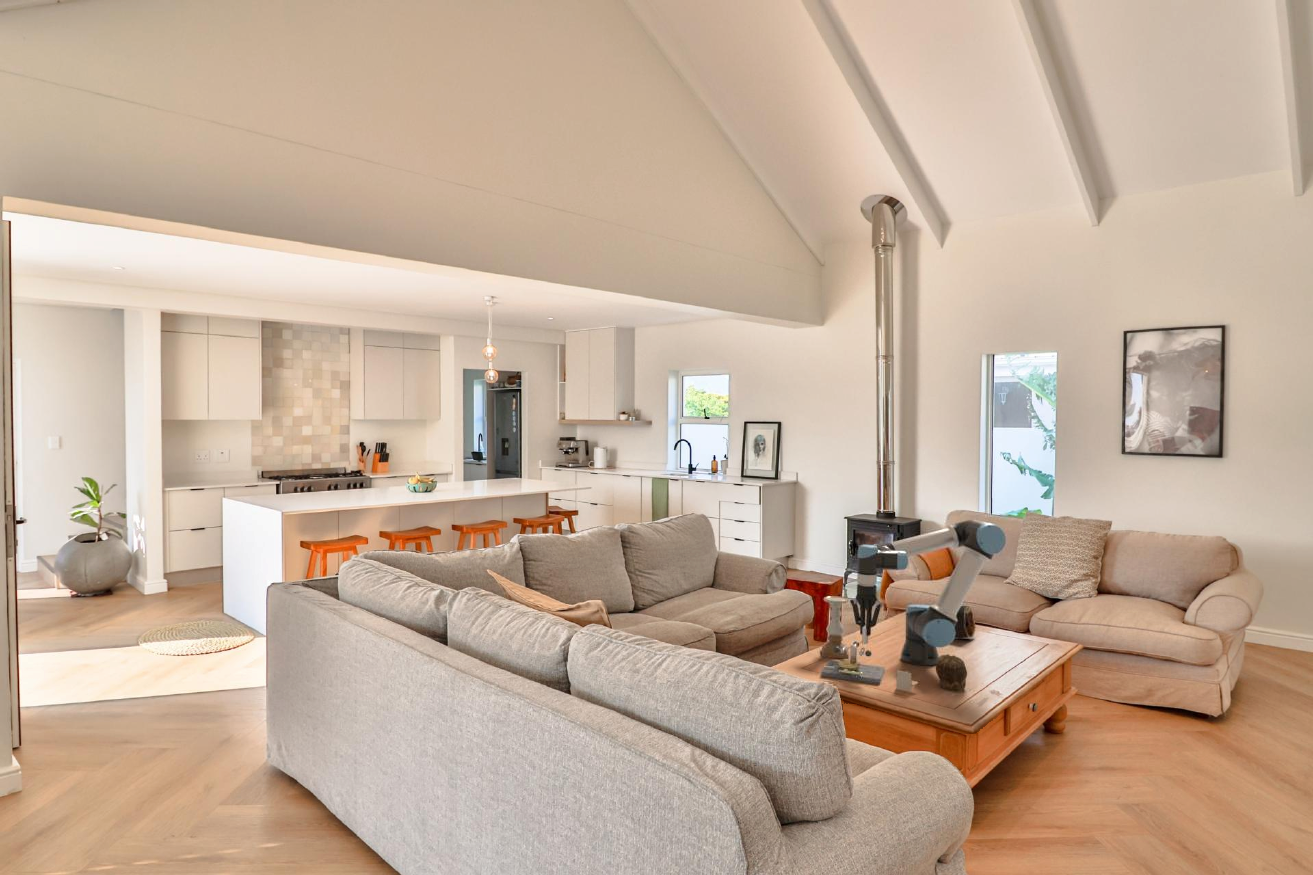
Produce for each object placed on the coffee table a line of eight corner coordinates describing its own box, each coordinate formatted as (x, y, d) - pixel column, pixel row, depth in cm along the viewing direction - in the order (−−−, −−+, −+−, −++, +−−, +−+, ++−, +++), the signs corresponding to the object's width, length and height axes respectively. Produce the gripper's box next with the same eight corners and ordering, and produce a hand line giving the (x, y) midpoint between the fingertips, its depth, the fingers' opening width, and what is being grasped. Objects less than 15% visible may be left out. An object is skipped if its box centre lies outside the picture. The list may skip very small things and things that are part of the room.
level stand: (884, 671, 311) (884, 661, 311) (879, 684, 296) (880, 673, 296) (828, 664, 319) (828, 655, 319) (821, 676, 304) (821, 666, 304)
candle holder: (848, 658, 328) (849, 602, 327) (822, 657, 330) (822, 600, 329) (847, 651, 338) (848, 596, 338) (821, 649, 340) (822, 595, 340)
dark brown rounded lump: (930, 683, 298) (931, 652, 298) (958, 682, 299) (958, 651, 299) (943, 693, 287) (943, 660, 287) (972, 692, 288) (972, 660, 288)
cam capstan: (874, 665, 312) (875, 642, 312) (870, 675, 300) (870, 652, 299) (837, 660, 318) (838, 638, 318) (832, 670, 305) (832, 647, 305)
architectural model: (899, 687, 294) (900, 667, 294) (917, 692, 290) (918, 672, 290) (895, 689, 292) (896, 670, 292) (913, 694, 287) (914, 674, 287)
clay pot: (918, 602, 379) (971, 600, 364) (925, 633, 379) (978, 632, 364) (908, 612, 367) (962, 610, 352) (915, 644, 367) (970, 643, 352)
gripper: (886, 585, 310) (884, 644, 310) (855, 580, 318) (853, 638, 318) (879, 588, 304) (877, 648, 304) (847, 583, 312) (845, 642, 312)
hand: (865, 643), depth 311 cm, fingers closed
